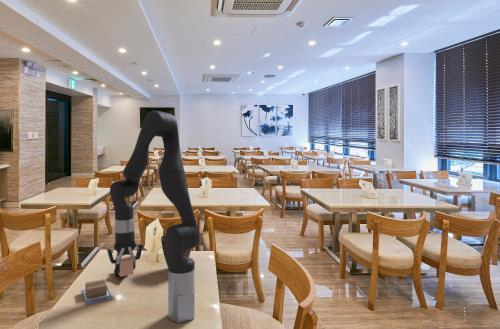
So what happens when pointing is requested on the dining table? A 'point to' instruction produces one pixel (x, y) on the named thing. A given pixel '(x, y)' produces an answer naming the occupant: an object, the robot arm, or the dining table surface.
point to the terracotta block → (126, 266)
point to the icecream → (118, 274)
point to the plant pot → (163, 240)
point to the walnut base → (96, 289)
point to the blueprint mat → (97, 299)
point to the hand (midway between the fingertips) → (125, 271)
